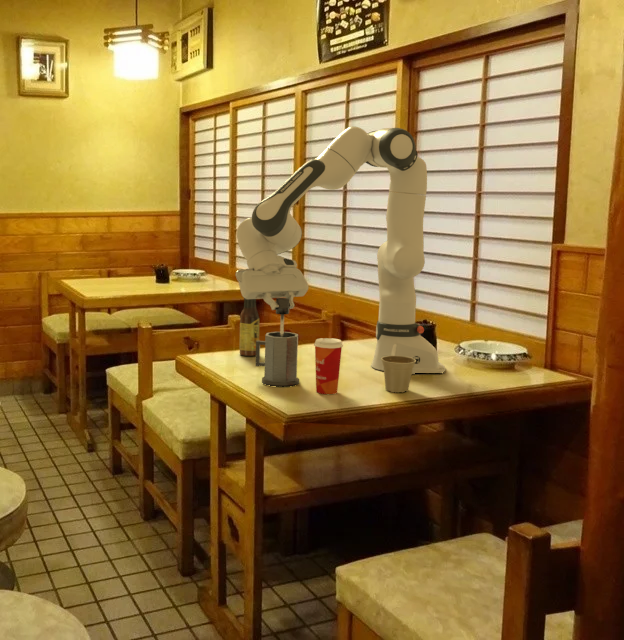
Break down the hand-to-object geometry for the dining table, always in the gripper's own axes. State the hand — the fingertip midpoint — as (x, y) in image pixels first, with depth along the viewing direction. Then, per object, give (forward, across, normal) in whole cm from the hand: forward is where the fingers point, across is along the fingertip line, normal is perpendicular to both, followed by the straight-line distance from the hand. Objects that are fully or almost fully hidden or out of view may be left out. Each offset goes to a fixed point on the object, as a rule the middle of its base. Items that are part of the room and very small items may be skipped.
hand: (283, 308), depth 215 cm
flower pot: (+30, +24, 0) cm, 38 cm away
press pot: (+14, 0, +15) cm, 21 cm away
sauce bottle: (-11, +11, +41) cm, 43 cm away
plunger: (+10, 0, +11) cm, 15 cm away
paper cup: (+25, +6, +5) cm, 26 cm away
